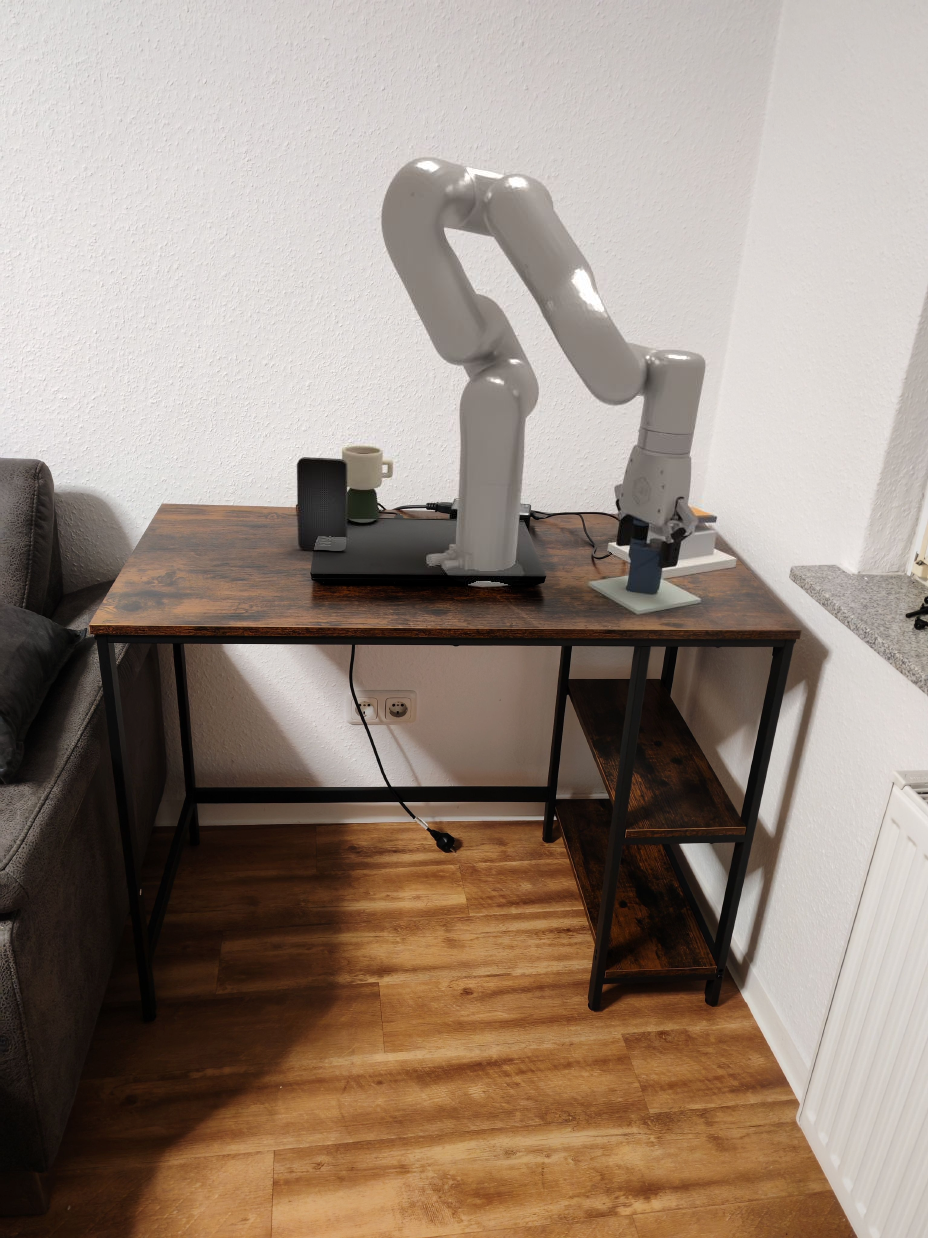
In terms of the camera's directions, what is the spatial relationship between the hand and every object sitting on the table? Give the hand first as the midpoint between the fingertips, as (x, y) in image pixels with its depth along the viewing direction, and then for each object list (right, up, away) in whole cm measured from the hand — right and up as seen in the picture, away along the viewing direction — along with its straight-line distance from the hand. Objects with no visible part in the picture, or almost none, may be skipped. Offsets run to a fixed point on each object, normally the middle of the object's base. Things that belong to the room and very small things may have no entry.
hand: (645, 555), depth 134 cm
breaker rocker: (+8, +8, +15) cm, 19 cm away
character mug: (-45, +8, +27) cm, 54 cm away
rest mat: (0, -6, +2) cm, 6 cm away
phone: (-50, +2, +12) cm, 52 cm away
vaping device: (0, -5, +2) cm, 6 cm away
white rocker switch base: (+8, +1, +18) cm, 20 cm away
